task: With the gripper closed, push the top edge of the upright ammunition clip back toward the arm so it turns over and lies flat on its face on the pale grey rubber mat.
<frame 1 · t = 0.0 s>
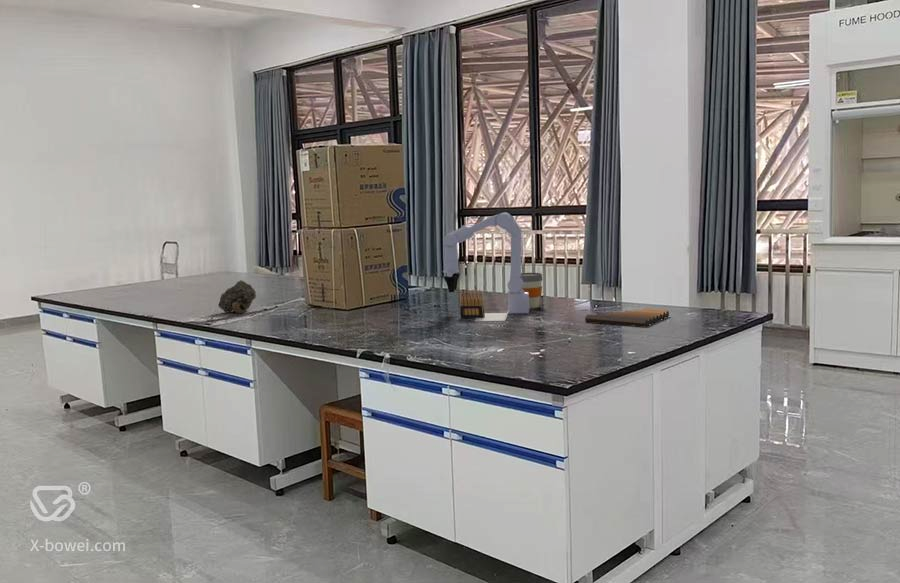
hand: (452, 291, 329), 10 cm above the table, tool pointing down, fingers open, 7 cm apart
mat: (491, 317, 315), on the table
reusable coffee cup: (529, 307, 340), on the table
ammunition clip: (472, 317, 317), on the table, touching mat
pan flute: (627, 321, 298), on the table
rock: (239, 312, 361), on the table
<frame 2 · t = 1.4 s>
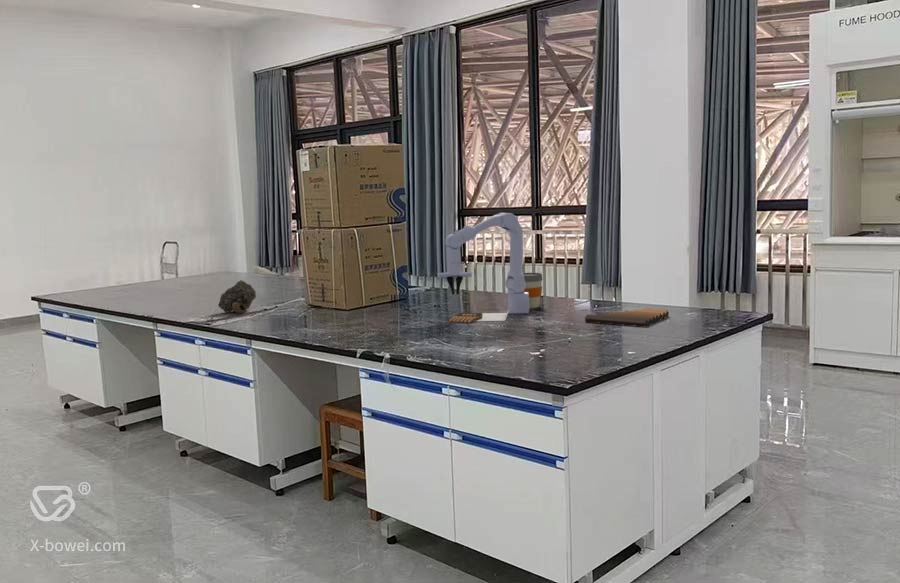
hand: (455, 294, 316), 10 cm above the table, tool pointing down, fingers closed
ammunition clip: (471, 315, 316), point 1 cm above the table, touching mat
everything else where it was.
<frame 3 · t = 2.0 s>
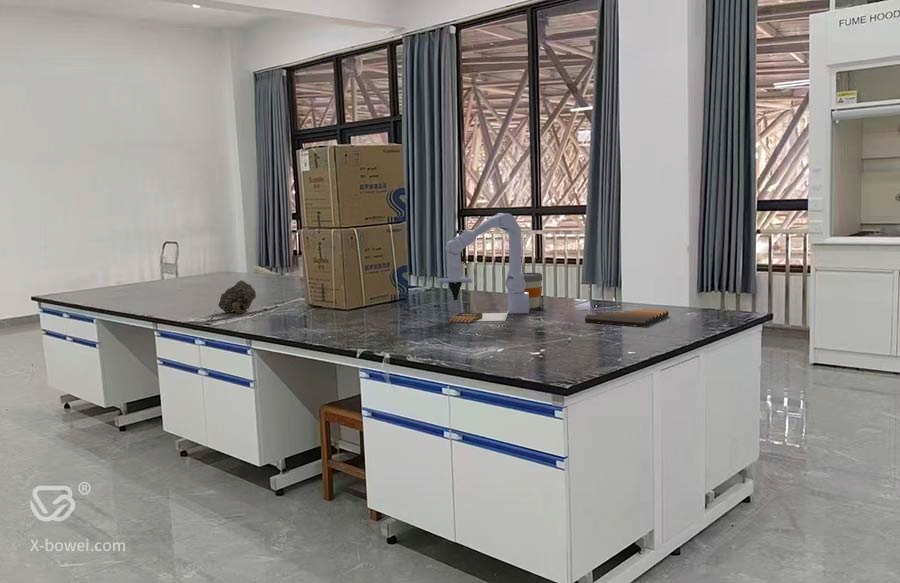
hand: (455, 299, 317), 8 cm above the table, tool pointing down, fingers closed
nothing on the table moved.
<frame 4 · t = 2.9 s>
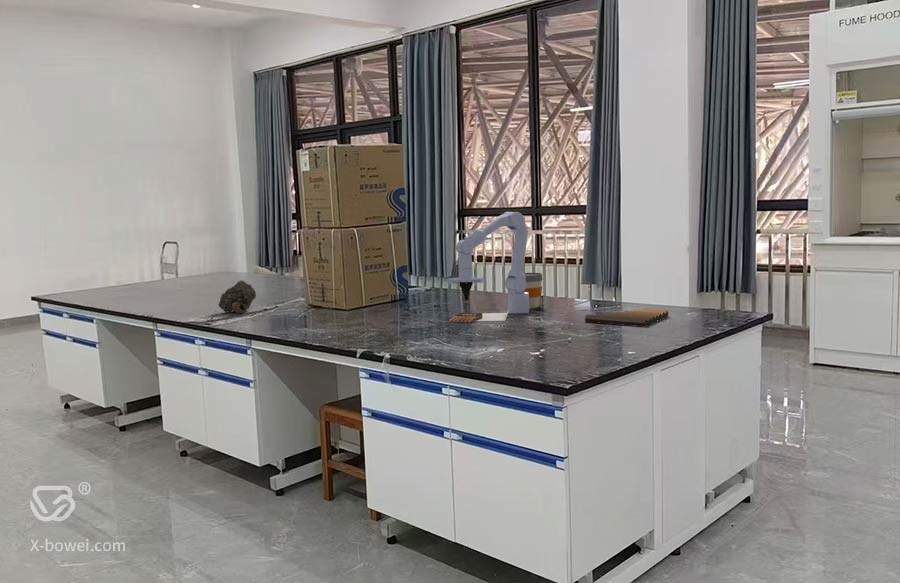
hand: (466, 299, 316), 8 cm above the table, tool pointing down, fingers closed
nothing on the table moved.
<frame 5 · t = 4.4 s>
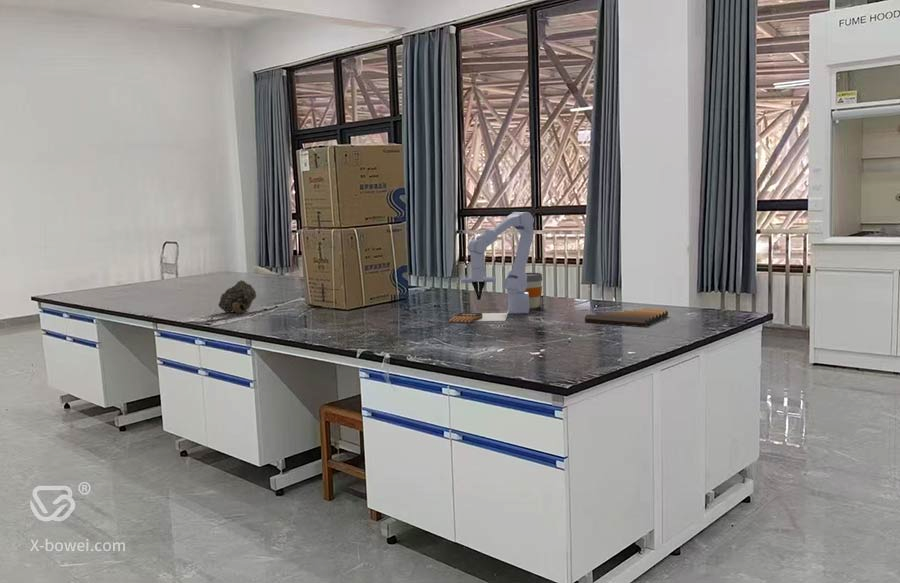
hand: (478, 299, 315), 8 cm above the table, tool pointing down, fingers closed
nothing on the table moved.
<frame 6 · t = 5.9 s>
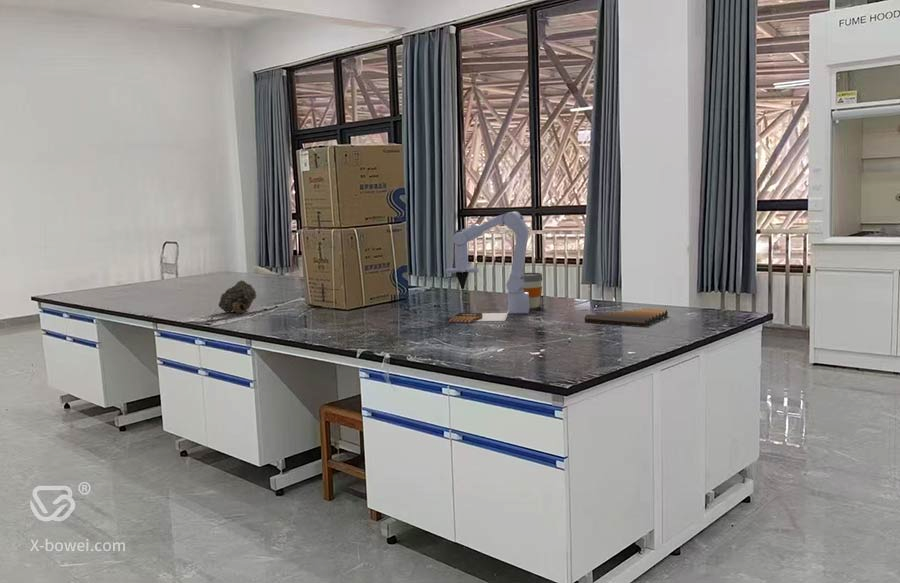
hand: (462, 288, 332), 10 cm above the table, tool pointing down, fingers closed
nothing on the table moved.
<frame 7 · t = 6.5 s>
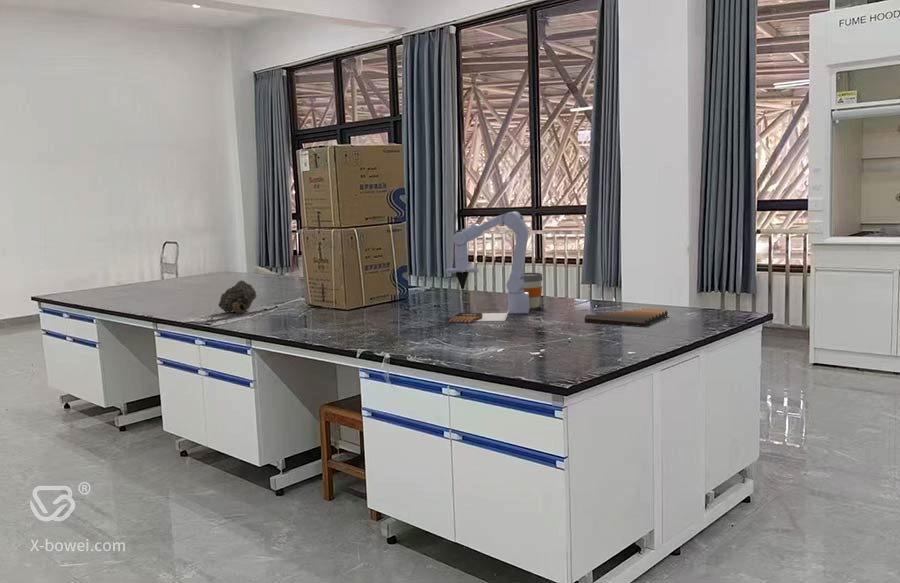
hand: (462, 288, 332), 10 cm above the table, tool pointing down, fingers closed
nothing on the table moved.
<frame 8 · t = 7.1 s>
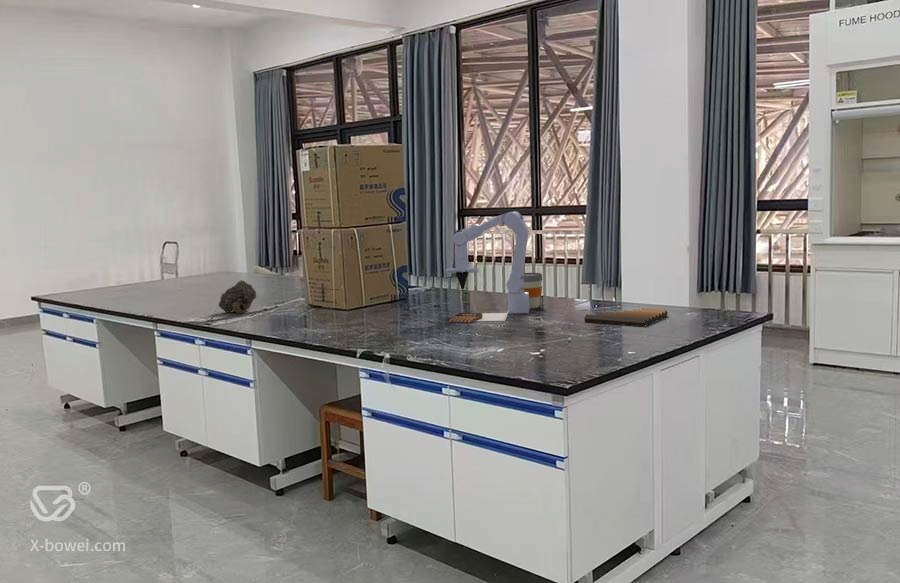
hand: (462, 288, 332), 10 cm above the table, tool pointing down, fingers closed
nothing on the table moved.
at the end: ammunition clip tilted 94°; ammunition clip touching mat, table; the gripper is holding nothing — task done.
